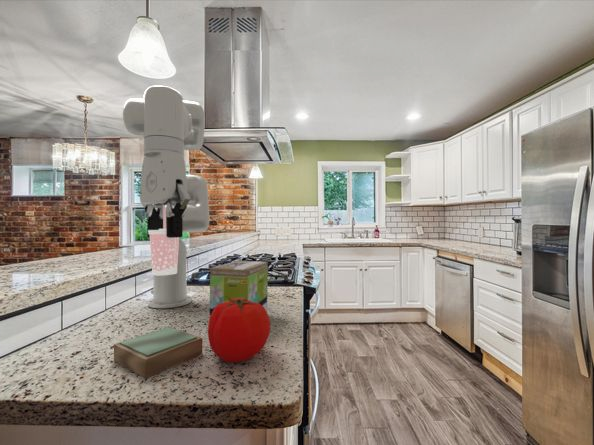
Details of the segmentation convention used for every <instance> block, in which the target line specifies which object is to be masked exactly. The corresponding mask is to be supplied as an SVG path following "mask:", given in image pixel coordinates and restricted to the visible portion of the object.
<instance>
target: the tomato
mask: <svg viewBox="0 0 594 445" xmlns="http://www.w3.org/2000/svg"><path fill="white" fill-rule="evenodd" d="M226 297H227V296H226ZM227 298H228V299H229V301H228V302H225V303H220V304H218V305H217V306H216V307H215V308H214V310H213V312H212V314H211V316H210V319H208V327H207V335H208V336H207V338H208V342H209V347H210V349H211V350H212V352H213V353H214V355H215V356H216V357H218V359H220V360H222V361H225V362H226V363H231V364H232V363H240V362H245V361H247V360H250V359H252V358H254V357H255V356H256V355H258V354H259V353H260V352H261V351H262V350H264V347H265V345H266V344H267V341H268V340H269V337H270V334H271V320H270V316H269V313H268V310H267V311H266V310H265V308H264V307H263V306H262V305H260V304H259V303H253V302H251V301H249V300H246V299H247V298H246V299H239V298H235V299H230V298H229V297H227Z"/></svg>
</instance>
